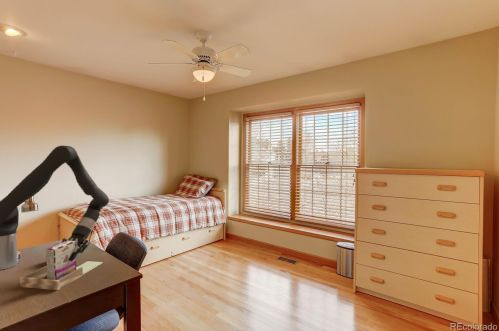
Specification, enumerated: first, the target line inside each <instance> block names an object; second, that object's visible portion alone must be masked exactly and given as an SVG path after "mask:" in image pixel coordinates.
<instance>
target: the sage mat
mask: <svg viewBox="0 0 499 331" xmlns="http://www.w3.org/2000/svg"><path fill="white" fill-rule="evenodd" d="M102 264H104V262H103V261H90V260H87V261H85V262H84V263H81V264H80V265H78V266H76V270H77V269H79V268H81V267H82V268H83V275H86V274H87V273H88V272H90V271H91V270H94V269H95V268H97V267H99V266H100V265H102Z"/></svg>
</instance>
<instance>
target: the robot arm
mask: <svg viewBox="0 0 499 331" xmlns="http://www.w3.org/2000/svg"><path fill="white" fill-rule="evenodd" d="M64 164H66V165H67V166H68V168H70V169H71V171H72V173H73V174H74V177H75V178H74V179H75V180H76V183H77V184H78V186H79V187H80V189H81V190H82V192H83V193H84V194H85V195H86V196H90V197H91V198H92V199H91V201H89V204H88V206H87V209H86V210H85V212H84V214H83V215H82V217H81V218H80V220H79V221H78V222H77V224H76V226H75V227H74V228H73V230H72V231H71V235H70V237H69V238H63V239H62V240H61V242H60V243H62V242H65V241H75V249H74V252H73V253H72V254H71V256H70V258H69V261H73V260H74V259H75V258H77V256H78V255H79V254H83V253H84V251H86V249H87V248H88V246H89V245H90V244H91V242H90V241H89V240H88V238H89V236H90V235H91V233H92V231H93V229H94V227H95V225H96V223H97V221H98V219H99V217H100V215H101V214H100V213H101V211H102V209H103V208H105V207H106V206H107V205H108V204H109V203H110V200H109V196H108V195H107V194H106V193H105V192H104V191H103V190H102V189H101V188H100V187H99V186H98V185H97V184H96V182H95V181H94V180H93V178H92V176H90V174H89V172H88V171H87V170H86V168H85V166H84V164H83V162H82V160H81V158H80V156H79V154H78V152H77V150H76V149H75V148H74V147H72V146H69V145H57V146H55V147H54V148H53V149H52V150H51V152H50V153H49V154H47V156H46V157H45V158H44V160H43V161H42V162H41V163H40V164H39V165H38V166H36V167H35V168H34V169H33V170H32V171H31V172H30V173H28V174H27V175H25V177H24V178H23V179H22V180H21V181H20V182H19V184H17V185H16V186H15V187H14V188H13V189H12V190H11V191H10V192H9V193H8V194H7V195H6V196H5V197H4V198H3V199H1V200H0V270H1V271H2V270H6V269H10V268H13V267H15V266H17V264H18V239H17V236H18V235H17V232H18V231H17V229H18V227H19V215H20V213H19V212H20V211H19V208H18V207H19V206H20V205H22V204H23V203H24V202H26V201H27V200H29V199H31V198H32V197H34V196H35V195H37V194H38V193H39V192H40V191H41V190H43V188H45V186H47V184H48V183H49V182H50V180H51V178H52V176H53V174H54V173H55V172H56V171H57V170H58V169H59V168H60V167H61V166H63V165H64Z"/></svg>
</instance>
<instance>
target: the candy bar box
mask: <svg viewBox="0 0 499 331" xmlns="http://www.w3.org/2000/svg"><path fill="white" fill-rule="evenodd" d="M61 242H62V241H61ZM61 242H59V243H60V244H58V243H56V244H57V245H55V244H53V245H54V246H53V245H51V246H50V247H46V248H45V253H46V266H47V279H52V280H59V279H61V278H62V277H64V276H66V275H68V274H70V273H72V272H73V271H75V270H76V267H77V259H76V258H77V257H76V258H75V259H74V260H73V261H69V258H70V256H71V254H72V253H73V252H74V249H75V241H65V242H62V243H61Z"/></svg>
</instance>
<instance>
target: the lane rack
mask: <svg viewBox="0 0 499 331" xmlns="http://www.w3.org/2000/svg"><path fill="white" fill-rule="evenodd" d="M83 276H84V274H83V268H82V267H81V268H79V269H77V270H75V271H73V272H72V273H70V274H68V275H66V276H64V277H62V278H61V279H59V280H52V279H47V265H45V266H43V267H41V268H38V269H37V270H34V271H32V272H30V273H28V274H25V275H24V276H21V277H20V278H19V287H21V288H30V289H42V290H50V291H52V290H53V291H59V290H60V289H63V288H64V287H66V286H68V285H69V284H71V283H73V282H74V281H76V280H78V279H79V278H81V277H83Z"/></svg>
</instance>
